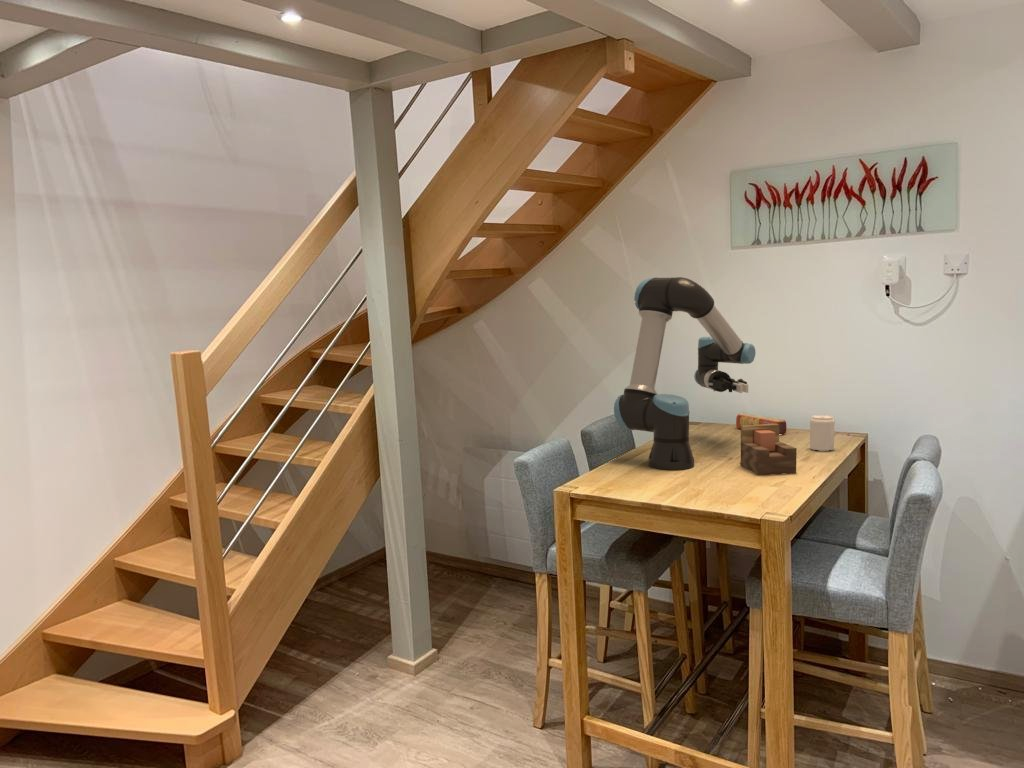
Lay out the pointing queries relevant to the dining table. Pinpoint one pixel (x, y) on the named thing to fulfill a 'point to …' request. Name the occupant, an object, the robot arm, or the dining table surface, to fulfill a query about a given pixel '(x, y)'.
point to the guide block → (766, 453)
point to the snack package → (759, 421)
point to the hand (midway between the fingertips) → (744, 388)
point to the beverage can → (822, 432)
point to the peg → (764, 438)
